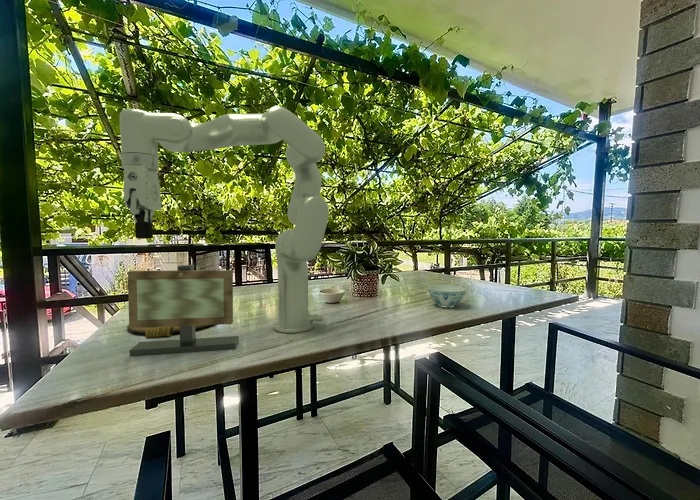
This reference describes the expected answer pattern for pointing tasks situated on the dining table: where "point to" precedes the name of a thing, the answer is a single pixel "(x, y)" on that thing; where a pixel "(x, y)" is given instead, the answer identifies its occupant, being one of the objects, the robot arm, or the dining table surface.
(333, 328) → the dining table surface
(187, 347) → the frame post
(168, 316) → the picture frame
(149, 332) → the decorative disc
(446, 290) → the chinaware
